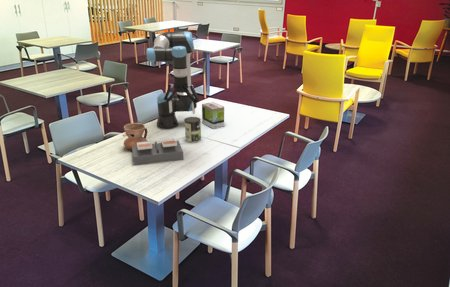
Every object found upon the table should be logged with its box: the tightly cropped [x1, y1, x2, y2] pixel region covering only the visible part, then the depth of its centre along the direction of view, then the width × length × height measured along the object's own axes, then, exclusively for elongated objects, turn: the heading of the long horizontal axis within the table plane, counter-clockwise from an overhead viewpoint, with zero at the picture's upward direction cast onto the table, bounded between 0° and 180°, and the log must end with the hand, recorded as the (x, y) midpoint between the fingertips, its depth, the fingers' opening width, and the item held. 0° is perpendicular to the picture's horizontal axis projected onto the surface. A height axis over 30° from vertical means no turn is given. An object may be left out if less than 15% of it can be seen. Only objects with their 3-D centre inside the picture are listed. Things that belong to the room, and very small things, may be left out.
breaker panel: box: [131, 140, 184, 166], centre depth 216 cm, size 16×28×7 cm, turn 105°
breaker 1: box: [137, 140, 153, 150], centre depth 212 cm, size 14×8×2 cm, turn 15°
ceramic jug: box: [122, 122, 149, 151], centre depth 226 cm, size 18×14×14 cm
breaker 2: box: [160, 138, 177, 147], centre depth 215 cm, size 14×8×2 cm, turn 15°
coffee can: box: [183, 116, 202, 144], centre depth 237 cm, size 10×10×14 cm
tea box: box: [201, 101, 225, 130], centre depth 262 cm, size 15×10×15 cm, turn 34°
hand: (182, 112), depth 208 cm, fingers open, 13 cm apart
